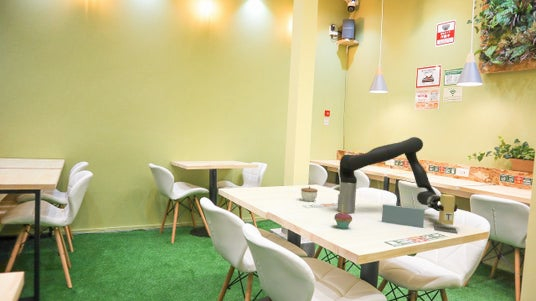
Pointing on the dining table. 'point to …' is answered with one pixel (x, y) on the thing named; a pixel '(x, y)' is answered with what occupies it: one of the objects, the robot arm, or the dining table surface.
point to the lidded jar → (309, 194)
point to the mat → (445, 229)
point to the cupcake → (343, 219)
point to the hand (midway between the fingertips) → (448, 209)
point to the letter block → (447, 209)
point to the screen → (403, 215)
